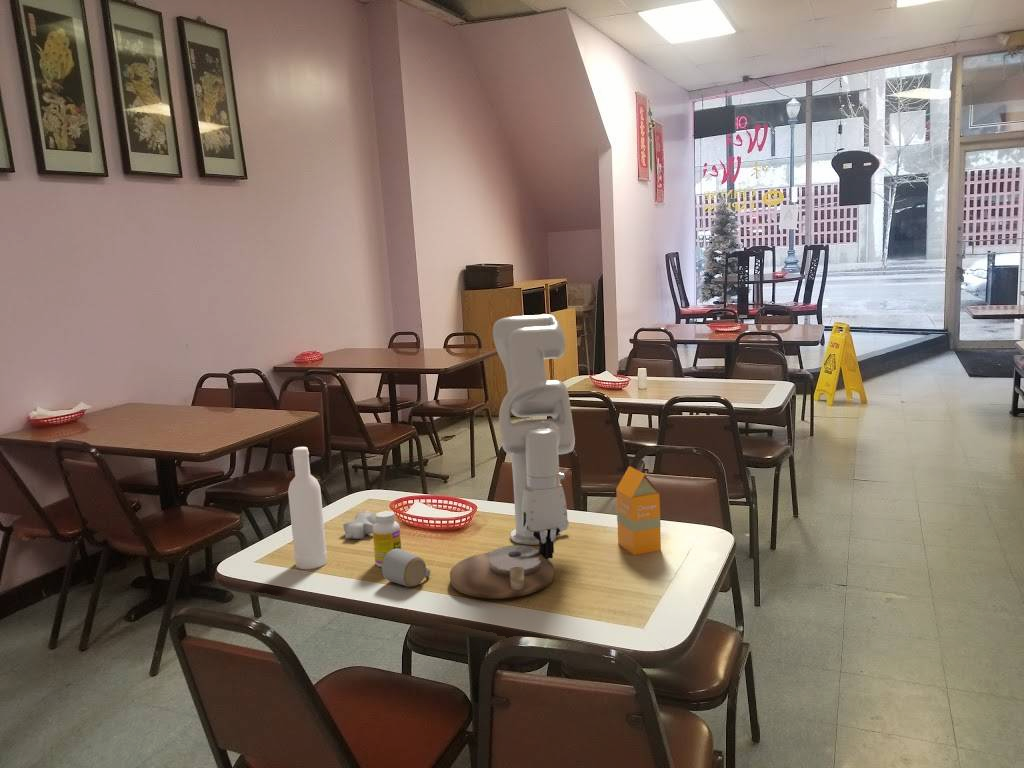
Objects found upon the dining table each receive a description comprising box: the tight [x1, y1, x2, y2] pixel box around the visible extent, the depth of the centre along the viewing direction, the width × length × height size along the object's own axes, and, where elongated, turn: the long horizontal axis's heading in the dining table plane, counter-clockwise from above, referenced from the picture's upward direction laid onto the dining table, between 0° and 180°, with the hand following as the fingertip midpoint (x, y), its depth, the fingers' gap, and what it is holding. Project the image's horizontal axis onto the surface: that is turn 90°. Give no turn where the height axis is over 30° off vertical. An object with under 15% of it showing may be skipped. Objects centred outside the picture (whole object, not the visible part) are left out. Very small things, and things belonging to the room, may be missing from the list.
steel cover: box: [489, 544, 542, 577], centre depth 180 cm, size 12×12×3 cm
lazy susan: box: [449, 551, 555, 600], centre depth 178 cm, size 24×24×6 cm
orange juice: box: [615, 465, 662, 556], centre depth 194 cm, size 8×9×20 cm
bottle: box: [287, 446, 328, 570], centre depth 193 cm, size 8×8×30 cm
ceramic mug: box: [381, 548, 431, 588], centre depth 181 cm, size 11×8×8 cm
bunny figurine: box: [342, 509, 383, 540], centre depth 217 cm, size 10×5×15 cm
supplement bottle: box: [372, 510, 402, 568], centre depth 192 cm, size 7×7×13 cm
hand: (547, 556), depth 182 cm, fingers closed
